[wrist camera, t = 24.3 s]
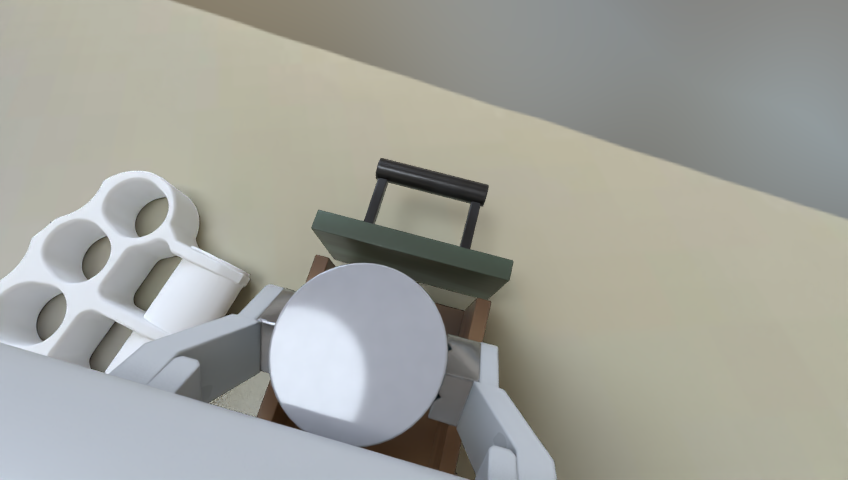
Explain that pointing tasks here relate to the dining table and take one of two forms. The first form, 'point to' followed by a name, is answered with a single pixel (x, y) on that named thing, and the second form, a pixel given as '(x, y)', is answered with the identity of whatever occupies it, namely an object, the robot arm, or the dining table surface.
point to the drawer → (423, 264)
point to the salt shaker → (358, 354)
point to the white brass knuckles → (116, 275)
